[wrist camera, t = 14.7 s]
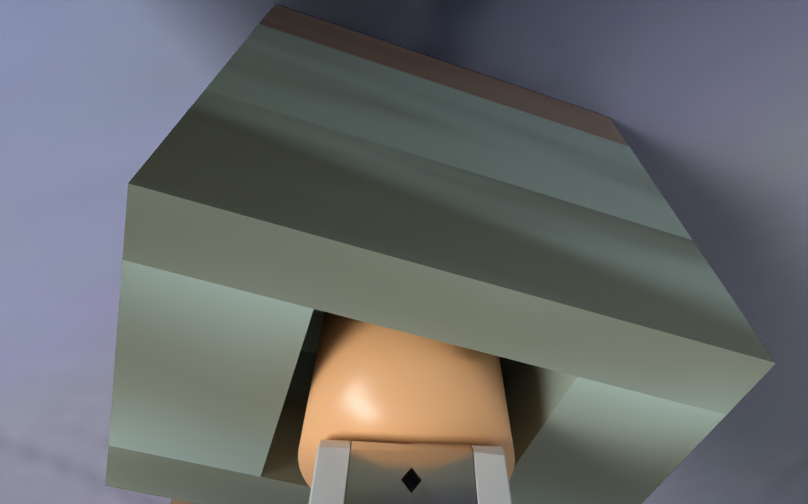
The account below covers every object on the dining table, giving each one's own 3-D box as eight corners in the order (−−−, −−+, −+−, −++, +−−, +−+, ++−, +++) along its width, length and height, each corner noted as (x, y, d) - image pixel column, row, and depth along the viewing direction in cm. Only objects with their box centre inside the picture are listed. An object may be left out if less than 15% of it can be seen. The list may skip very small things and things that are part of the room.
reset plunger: (455, 381, 15) (466, 540, 11) (310, 345, 14) (278, 502, 11) (517, 268, 13) (551, 421, 9) (351, 221, 12) (327, 366, 9)
